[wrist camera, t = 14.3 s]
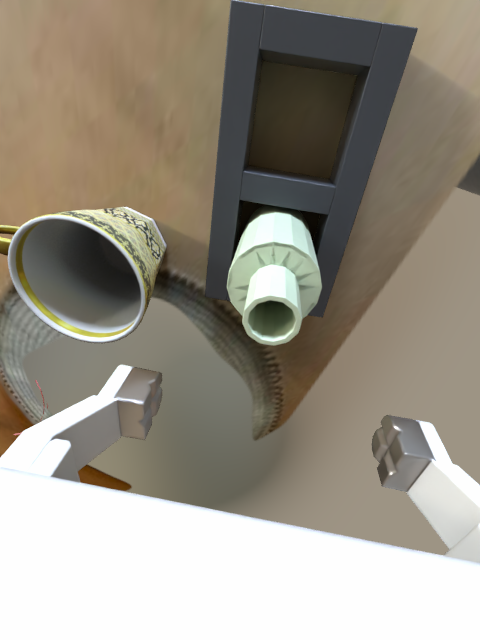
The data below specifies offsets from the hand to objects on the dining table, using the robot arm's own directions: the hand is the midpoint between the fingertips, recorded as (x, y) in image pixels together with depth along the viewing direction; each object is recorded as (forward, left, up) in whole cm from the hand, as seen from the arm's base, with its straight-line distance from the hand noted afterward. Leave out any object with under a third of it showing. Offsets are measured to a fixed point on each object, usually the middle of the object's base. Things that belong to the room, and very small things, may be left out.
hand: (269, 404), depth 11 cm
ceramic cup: (+15, +3, -21) cm, 26 cm away
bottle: (0, 0, -21) cm, 21 cm away
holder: (0, -4, -21) cm, 21 cm away
